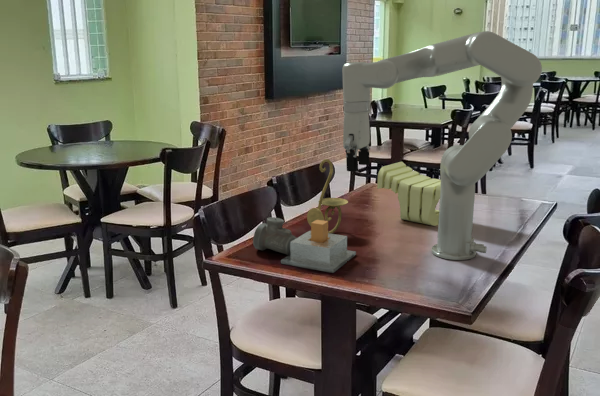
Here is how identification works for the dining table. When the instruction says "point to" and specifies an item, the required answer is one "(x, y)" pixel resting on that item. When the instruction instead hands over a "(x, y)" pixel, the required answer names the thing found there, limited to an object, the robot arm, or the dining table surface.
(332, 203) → the wall sconce
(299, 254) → the square hole block
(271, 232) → the pipe fitting
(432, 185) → the slatted curved stool
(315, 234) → the orange rectangular block
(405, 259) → the dining table surface
